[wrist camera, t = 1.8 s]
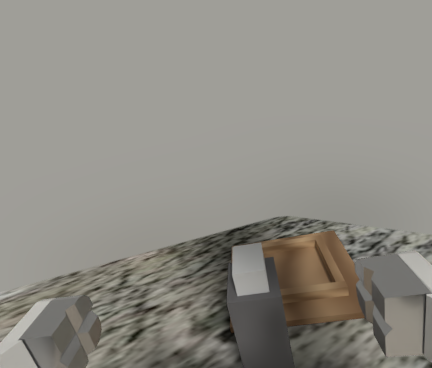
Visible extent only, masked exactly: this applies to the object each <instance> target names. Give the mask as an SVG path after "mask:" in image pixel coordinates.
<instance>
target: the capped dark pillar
mask: <svg viewBox="0 0 432 368" xmlns="http://www.w3.org/2000/svg"><path fill="white" fill-rule="evenodd" d="M227 307H228V310H229V314H230V318H231V322H232V325H233V329H234V333H235V337H236V341H237V344H238V348H239V352H240V356H241V359H242V363H243V367H244V368H294V363H293V357H292V352H291V346H290V340H289V335H288V329H287V324H286V318H285V313H284V307H283V302H282V296H281V291H280V286H279V281H278V277H277V272H276V267H275V262H274V257H268V258H264V255H263V250H262V245H261V242H260V243H253V244H247V245H240V246H234V247H233V253H232V263H228V283H227Z"/></svg>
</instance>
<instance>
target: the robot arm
mask: <svg viewBox="0 0 432 368" xmlns="http://www.w3.org/2000/svg"><path fill="white" fill-rule="evenodd" d="M355 272H356V274H357V276H358V278H359V281H358V282H357V284H356V292H357V298H358V302H359V305H360V308H361V310H362V313H363V315H364V317H365V319H366V320H367V321H369V322H370V323H372V324H373V332H374V336H375V338H376V339H377V341H378V343H379V345H380V347H381V349H382V351H383V352H384V354H385V356H386V357H396V356H414V355H424V357H425V358H426V359H428V360H429V361H430V362H432V265H431V264H430V263H429V262H428V261H427V260H426V259H425V258H424V257H423V256H421V255H420V254H419V253H418V252H417V251H414V250H411V251H405V252H399V253H394V254H390V255H382V256H375V257H368V258H361V259H355ZM92 306H93V304H92V302H91V300H90V298H89V297H88V296H85V295H79V296H70V297H60V298H53V299H44V300H41V301H39V302H37V303H36V304H35V305H34V306H33V307H32V308H31V309H30V310H29V312H28V313H27V314H26V315H25V316H24V317H23V318H22V319H21V320H20V322H19V323H18V324H17V325H16V326H15V327H14V328H13V329H12V330H11V332H10V333H9V334H8V335H7V336H6V337H5V338H4V339H3V340H2V342H0V368H86V366H87V364H88V356H87V355H88V354H90V353H91V352H92V351H93V350H94V349H95V348H96V346H97V344H98V342H99V340H100V336H101V330H102V329H101V322H100V320H99V317H98V315H96V314H95V313H93V312H92V311H91V309H92Z"/></svg>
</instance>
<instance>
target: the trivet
mask: <svg viewBox="0 0 432 368" xmlns="http://www.w3.org/2000/svg"><path fill="white" fill-rule="evenodd" d="M256 243H260V242H256ZM249 244H253V243H249ZM243 245H247V244H243ZM261 245H262V250H263V255H264V258H268V257H274V262H275V267H276V272H277V277H278V281H279V286H280V291H281V296H282V302H283V307H284V313H285V318H286V324H287V327H288V326H297V325H306V324H315V323H324V322H333V321H342V320H350V319H359V318H365V317H364V315H363V313H362V310H361V308H360V305H359V302H358V298H357V292H356V284H357V282H358V281H359V278H358V276H357V274H356V272H355V264H354V262H353V261H352V259H351V258H350V256H349V254H348V253H347V251H346V250H345V248H344V246H343V245H342V243H341V242H340V240H339V238H338V237H337V235H336V234H335V232H334V231H327V232H321V233H314V234H308V235H301V236H295V237H288V238H282V239H275V240H269V241H262V242H261ZM236 246H240V245H236ZM233 247H234V246H232V253H233ZM231 263H232V259H231ZM230 330H231V333H234V329H233V325H232V322H231V318H230Z"/></svg>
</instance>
